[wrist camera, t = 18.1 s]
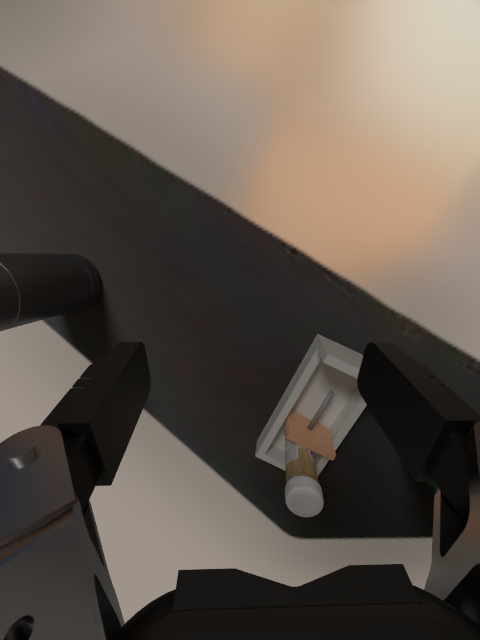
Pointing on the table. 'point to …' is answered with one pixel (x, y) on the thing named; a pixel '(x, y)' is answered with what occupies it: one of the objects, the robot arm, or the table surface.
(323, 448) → the pusher
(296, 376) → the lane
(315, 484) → the sprinkles bottle
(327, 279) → the table surface
